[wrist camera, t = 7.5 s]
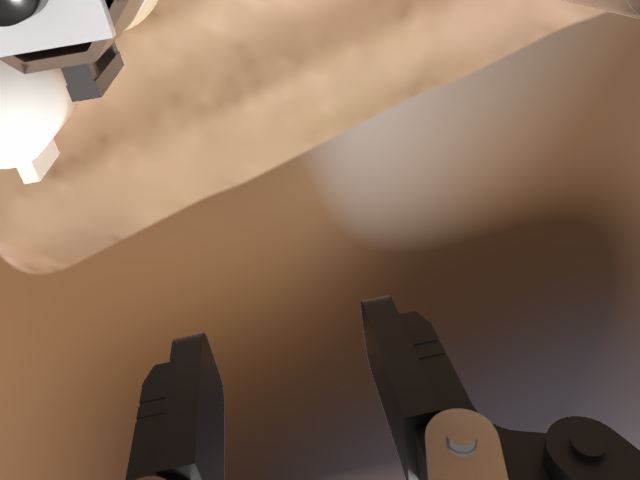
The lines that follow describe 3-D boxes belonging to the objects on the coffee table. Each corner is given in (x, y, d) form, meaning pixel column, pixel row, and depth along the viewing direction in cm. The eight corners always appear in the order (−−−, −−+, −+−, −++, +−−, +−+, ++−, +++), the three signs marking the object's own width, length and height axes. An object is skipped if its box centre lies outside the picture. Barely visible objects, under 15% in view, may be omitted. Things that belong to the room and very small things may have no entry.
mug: (57, 21, 41) (20, 43, 34) (103, 139, 47) (79, 182, 39) (-46, 38, 41) (-108, 65, 33) (12, 156, 46) (-30, 202, 38)
